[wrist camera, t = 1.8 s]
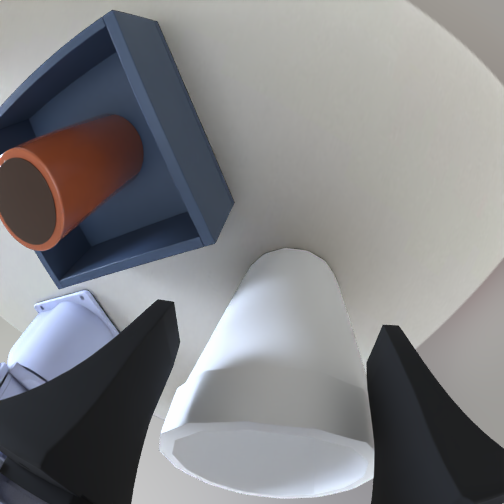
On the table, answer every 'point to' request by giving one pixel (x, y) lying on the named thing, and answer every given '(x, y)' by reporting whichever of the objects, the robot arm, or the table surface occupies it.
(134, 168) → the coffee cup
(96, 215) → the tote
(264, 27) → the table surface
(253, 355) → the foam cup
